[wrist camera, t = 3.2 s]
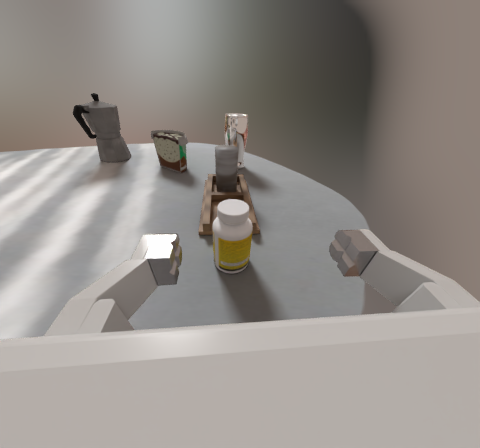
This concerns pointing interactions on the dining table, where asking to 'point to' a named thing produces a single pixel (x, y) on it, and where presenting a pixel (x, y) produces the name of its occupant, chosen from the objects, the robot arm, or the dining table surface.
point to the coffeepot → (103, 129)
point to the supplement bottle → (232, 236)
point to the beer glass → (237, 133)
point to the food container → (171, 149)
